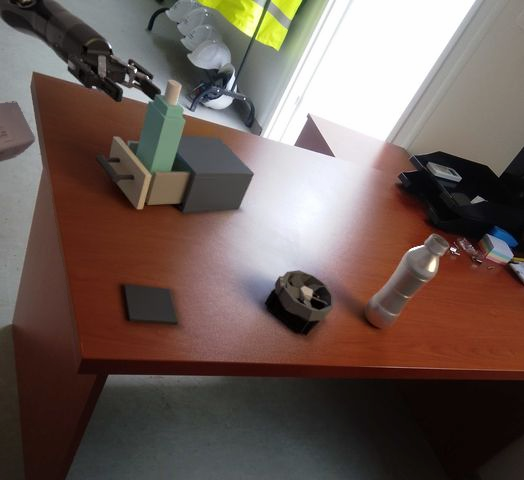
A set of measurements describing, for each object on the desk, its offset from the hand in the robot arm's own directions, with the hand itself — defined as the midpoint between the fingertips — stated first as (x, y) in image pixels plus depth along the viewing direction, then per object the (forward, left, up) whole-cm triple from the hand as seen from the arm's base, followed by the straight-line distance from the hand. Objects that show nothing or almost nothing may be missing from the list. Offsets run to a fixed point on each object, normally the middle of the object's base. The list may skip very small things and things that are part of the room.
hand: (140, 96), depth 78 cm
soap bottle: (+6, -1, -13) cm, 14 cm away
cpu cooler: (+42, -7, -15) cm, 45 cm away
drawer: (+6, -2, -14) cm, 15 cm away
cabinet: (+11, +9, -15) cm, 21 cm away
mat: (+24, -26, -15) cm, 38 cm away
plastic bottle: (+56, +6, -15) cm, 59 cm away
